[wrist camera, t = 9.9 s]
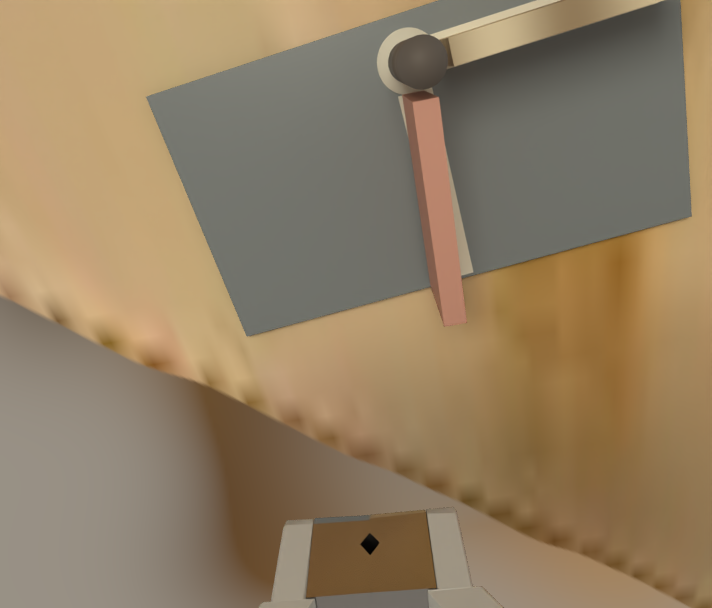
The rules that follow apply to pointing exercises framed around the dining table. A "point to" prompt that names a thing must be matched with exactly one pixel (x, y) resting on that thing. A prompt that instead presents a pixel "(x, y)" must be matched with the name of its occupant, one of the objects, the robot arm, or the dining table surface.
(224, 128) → the card
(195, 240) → the dining table surface
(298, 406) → the dining table surface
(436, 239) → the hinged fence panel
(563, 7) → the fixed fence panel
